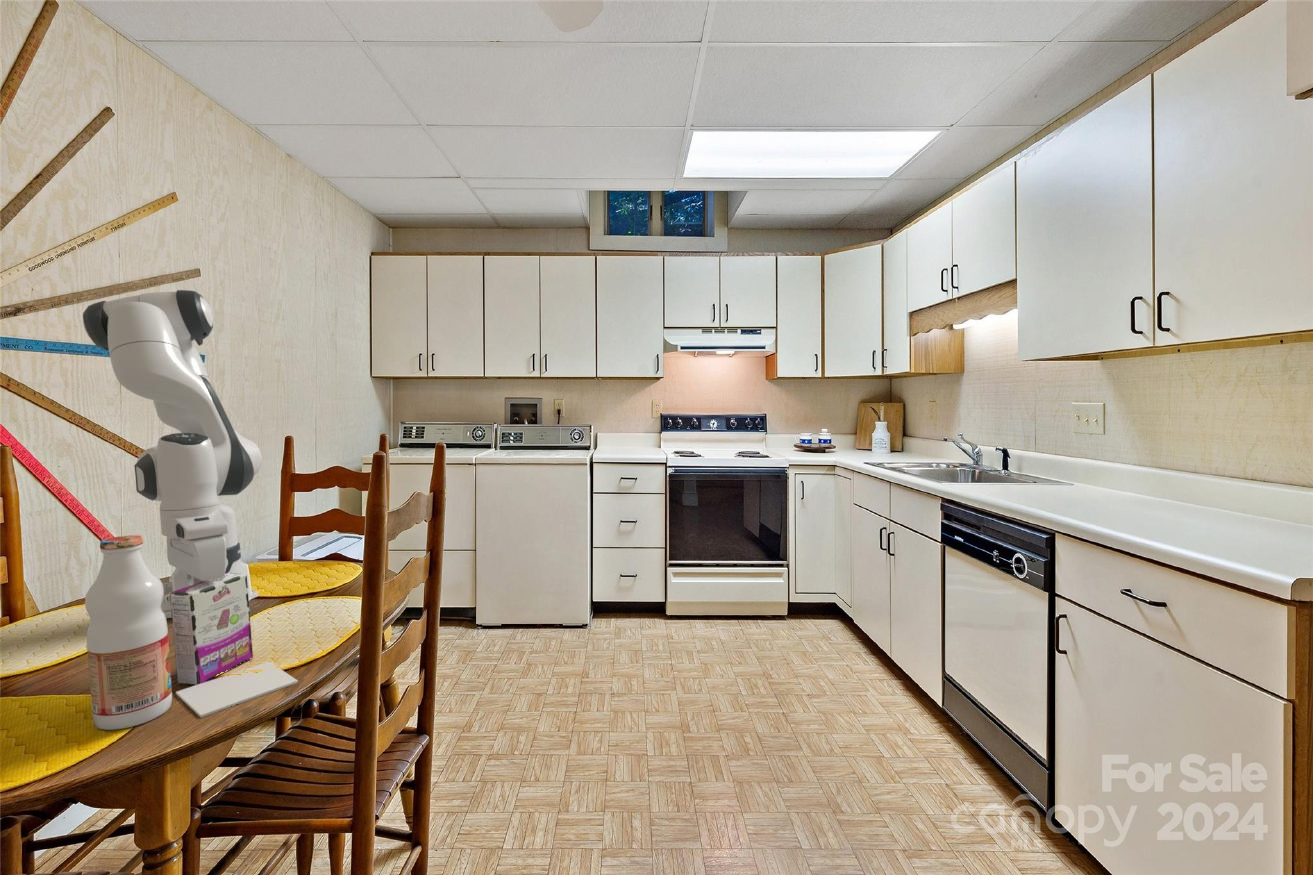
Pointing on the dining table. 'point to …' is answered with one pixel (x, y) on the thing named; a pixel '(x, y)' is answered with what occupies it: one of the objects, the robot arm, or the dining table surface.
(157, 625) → the fruit juice
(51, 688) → the dining table surface
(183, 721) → the dining table surface
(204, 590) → the candy bar box
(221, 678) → the mat
